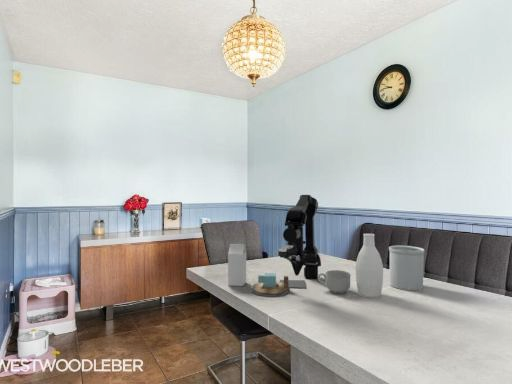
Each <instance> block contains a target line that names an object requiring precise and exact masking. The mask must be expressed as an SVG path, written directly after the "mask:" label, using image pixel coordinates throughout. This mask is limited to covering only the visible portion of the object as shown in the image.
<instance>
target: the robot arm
mask: <svg viewBox="0 0 512 384" xmlns="http://www.w3.org/2000/svg"><path fill="white" fill-rule="evenodd" d="M318 209H319V202H318V200H317V198H315V197H313V196H312V195H311V194H300V195H299V199H298V201H297V202H296V205H295V206H292V207H291V208H289V210H288V211H287V212H286V216H285V222H284V226H285V227H287V228H285V229H284V230H283V233H282V237H283V239H284V241H285V242H286V245H285V246H282V247H281V248H279V249H278V255H277V256H278V257H279V258H283V259H285V260H287V261H289V262H290V264H291V266H292V270H293V272H294V275H295V276H299V275H300V273H301V271H302V269H303V276H304V279H311V280H312V279H313V280H318V275H319V267H321V266H322V261H321V257H320V254H319V250H318V248H317V247H316V245H315V244H316V241H315V239H316V238H315V216H316V214H317V213H318ZM304 228H305V229H304ZM304 233H305V235H304ZM304 236H305V240H304ZM304 244H305V247H304Z"/></svg>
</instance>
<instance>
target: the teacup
mask: <svg viewBox="0 0 512 384" xmlns="http://www.w3.org/2000/svg"><path fill="white" fill-rule="evenodd" d="M351 275H352V274H351V273H350V272H348V271H344V270H337V269H333V270H327V271H326V272H325V273H323V272H320V273H318V279H317V280H318V282H320V283H321V284H322V285H324V287H326V288H327V289H328V291H330V292H331V293H334V294H344V293H346V292H347V291H349V289H350V287H351ZM321 276H323V277H324V279H325V280H322V279H321Z"/></svg>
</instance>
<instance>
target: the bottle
mask: <svg viewBox="0 0 512 384" xmlns="http://www.w3.org/2000/svg"><path fill="white" fill-rule="evenodd" d="M362 243H363V245H362V247H361V248H360V251H358V254H357V258H356V261H355V281H356V287H357V288H356V289H357V293H358V294H359V295H360V296H361V297H364V298H373V299H374V298H378V297H380V296H382V290H383V289H382V288H383V285H384V264H383V260H382V257H381V254H380V252H379V251H378V249H377V247H376V246H375V245H376V244H375V243H376V242H375V234H374V233H363V242H362Z"/></svg>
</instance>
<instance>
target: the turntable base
mask: <svg viewBox="0 0 512 384" xmlns="http://www.w3.org/2000/svg"><path fill="white" fill-rule="evenodd" d="M290 290H291V288H288V290H287V291H286V292H283V293H279V294H263V293H258V292H255V291H254V290H253V289H252V287H251V290H250V292H251V293H252V294H254V295H256V296H261V297H280V296H281V297H282V296H285V295H288V294H289V293H290Z"/></svg>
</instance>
